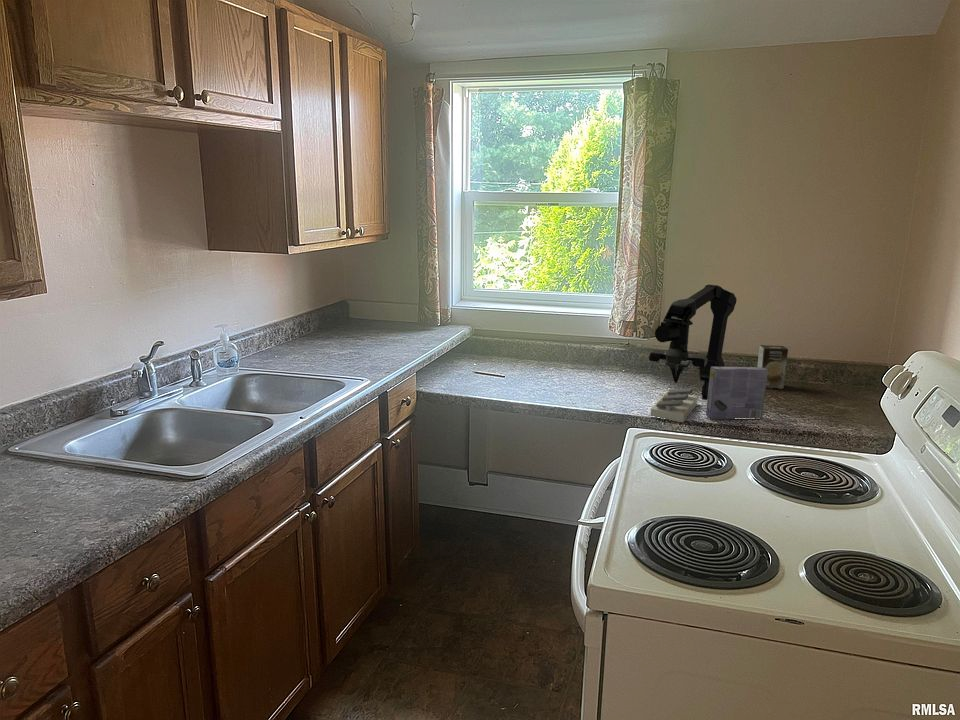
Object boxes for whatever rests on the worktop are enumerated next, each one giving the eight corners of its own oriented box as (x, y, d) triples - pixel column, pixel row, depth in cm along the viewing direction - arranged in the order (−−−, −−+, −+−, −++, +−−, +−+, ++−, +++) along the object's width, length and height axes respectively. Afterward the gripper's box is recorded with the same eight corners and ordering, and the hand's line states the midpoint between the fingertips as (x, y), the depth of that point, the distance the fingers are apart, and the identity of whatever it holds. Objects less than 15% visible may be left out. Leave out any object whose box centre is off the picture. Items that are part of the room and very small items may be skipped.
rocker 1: (688, 396, 240) (687, 394, 239) (685, 399, 236) (685, 397, 236) (665, 398, 244) (664, 395, 243) (662, 401, 240) (662, 398, 240)
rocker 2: (683, 403, 233) (682, 400, 233) (680, 406, 229) (680, 403, 229) (659, 404, 237) (659, 401, 237) (656, 407, 233) (656, 404, 233)
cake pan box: (759, 415, 236) (765, 365, 232) (766, 420, 231) (771, 369, 227) (704, 415, 236) (709, 365, 231) (709, 420, 231) (714, 369, 226)
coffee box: (759, 388, 268) (763, 348, 264) (754, 383, 275) (758, 344, 271) (783, 389, 267) (788, 349, 264) (778, 384, 274) (783, 345, 270)
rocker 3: (692, 391, 246) (692, 388, 246) (690, 393, 243) (690, 391, 243) (670, 392, 250) (670, 389, 250) (667, 395, 247) (667, 392, 247)
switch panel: (696, 404, 248) (697, 392, 247) (683, 422, 228) (684, 409, 227) (666, 399, 253) (667, 388, 252) (650, 417, 233) (651, 404, 232)
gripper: (646, 340, 232) (643, 384, 236) (702, 346, 224) (698, 392, 227) (654, 334, 242) (651, 377, 246) (709, 339, 233) (705, 384, 237)
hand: (676, 382), depth 239 cm, fingers closed
